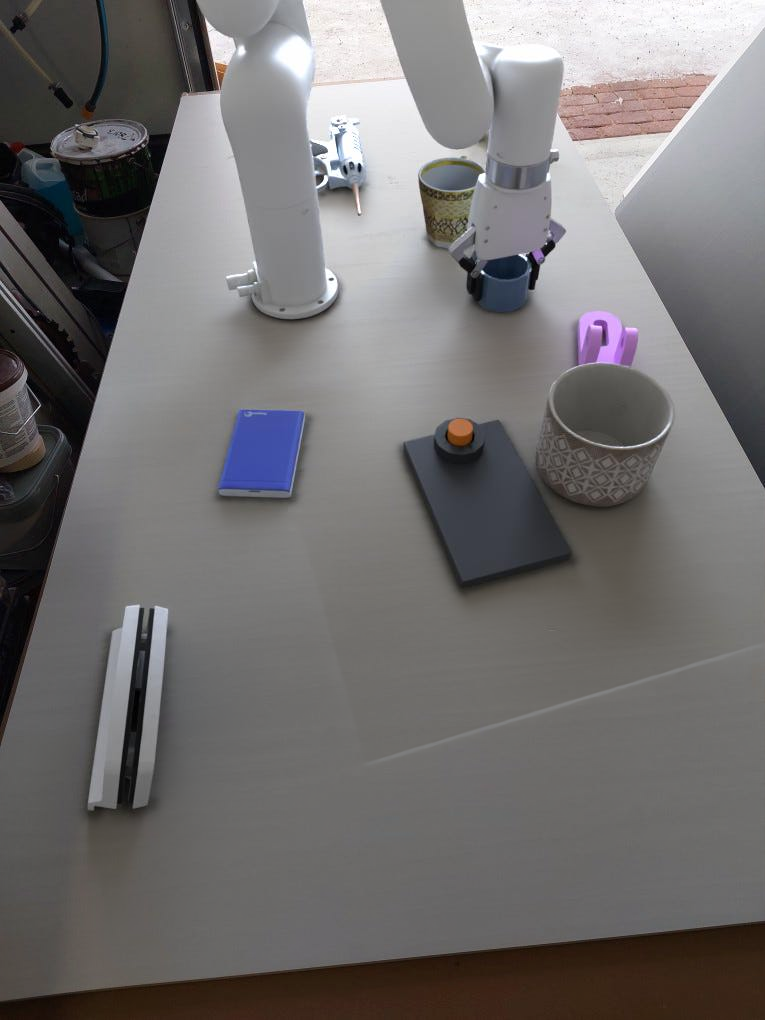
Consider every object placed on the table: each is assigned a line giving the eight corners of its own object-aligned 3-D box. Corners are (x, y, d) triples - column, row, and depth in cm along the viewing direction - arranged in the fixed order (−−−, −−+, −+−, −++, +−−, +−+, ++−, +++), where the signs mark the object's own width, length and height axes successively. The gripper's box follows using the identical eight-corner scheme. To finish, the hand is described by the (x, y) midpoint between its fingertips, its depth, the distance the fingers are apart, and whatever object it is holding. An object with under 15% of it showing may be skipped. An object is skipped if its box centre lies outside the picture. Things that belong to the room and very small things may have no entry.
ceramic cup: (472, 259, 105) (477, 195, 97) (409, 248, 107) (409, 185, 99) (491, 214, 112) (498, 152, 104) (432, 205, 114) (434, 144, 106)
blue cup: (485, 316, 96) (489, 285, 92) (467, 286, 101) (469, 255, 97) (534, 306, 97) (540, 275, 93) (514, 276, 102) (518, 246, 98)
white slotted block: (112, 635, 68) (115, 582, 61) (162, 637, 69) (171, 586, 62) (87, 814, 58) (86, 777, 50) (146, 813, 59) (154, 776, 52)
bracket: (624, 385, 87) (639, 341, 82) (579, 382, 88) (590, 338, 82) (618, 320, 95) (631, 276, 89) (576, 318, 96) (587, 274, 90)
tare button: (452, 449, 78) (453, 438, 77) (444, 432, 80) (444, 421, 78) (475, 443, 78) (476, 433, 77) (466, 426, 80) (467, 416, 79)
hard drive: (238, 408, 85) (217, 487, 77) (304, 410, 84) (289, 489, 77) (240, 417, 86) (220, 496, 78) (305, 419, 85) (291, 498, 78)
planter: (664, 503, 76) (696, 439, 68) (553, 520, 75) (572, 457, 67) (622, 422, 83) (645, 355, 75) (520, 436, 82) (533, 370, 74)
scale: (461, 589, 70) (463, 573, 68) (402, 447, 82) (402, 430, 80) (570, 559, 72) (575, 543, 69) (496, 425, 84) (499, 407, 81)
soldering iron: (277, 149, 129) (361, 134, 128) (282, 244, 114) (378, 227, 113) (269, 118, 124) (356, 102, 123) (274, 213, 109) (373, 195, 108)
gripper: (569, 141, 88) (546, 264, 102) (439, 164, 85) (434, 287, 99) (596, 169, 83) (568, 293, 97) (460, 194, 81) (452, 318, 95)
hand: (501, 289), depth 98 cm, fingers closed on blue cup, 7 cm apart
